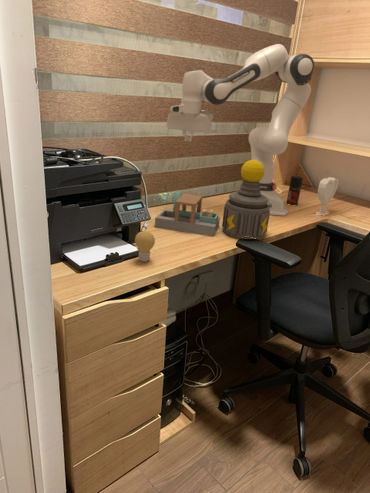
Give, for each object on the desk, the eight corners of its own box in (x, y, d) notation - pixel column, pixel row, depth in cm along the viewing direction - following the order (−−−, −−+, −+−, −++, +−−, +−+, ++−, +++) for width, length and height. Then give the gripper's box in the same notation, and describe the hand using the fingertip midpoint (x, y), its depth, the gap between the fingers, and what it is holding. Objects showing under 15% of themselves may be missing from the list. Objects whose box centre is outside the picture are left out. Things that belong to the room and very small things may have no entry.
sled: (217, 218, 158) (220, 195, 155) (215, 223, 152) (218, 199, 148) (175, 211, 162) (176, 189, 158) (171, 216, 156) (172, 193, 152)
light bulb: (140, 265, 121) (141, 236, 117) (130, 258, 125) (131, 230, 122) (157, 262, 124) (159, 233, 120) (147, 254, 129) (148, 227, 125)
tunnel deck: (218, 225, 163) (222, 198, 159) (213, 236, 150) (217, 207, 146) (164, 217, 168) (166, 190, 163) (154, 226, 155) (156, 198, 150)
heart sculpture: (320, 217, 187) (328, 181, 180) (310, 214, 190) (318, 179, 184) (332, 211, 198) (341, 177, 191) (323, 209, 201) (331, 175, 194)
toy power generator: (275, 235, 158) (288, 162, 146) (248, 244, 145) (260, 166, 134) (239, 222, 170) (249, 154, 158) (211, 230, 157) (220, 157, 146)
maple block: (212, 219, 158) (213, 210, 156) (210, 222, 154) (211, 212, 152) (203, 217, 158) (203, 208, 157) (201, 220, 155) (202, 211, 153)
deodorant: (299, 204, 206) (304, 177, 200) (294, 206, 201) (299, 178, 196) (289, 202, 209) (294, 175, 203) (284, 203, 205) (289, 176, 199)
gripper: (214, 111, 169) (211, 142, 174) (170, 106, 173) (168, 138, 178) (212, 111, 163) (209, 144, 168) (166, 107, 167) (164, 139, 172)
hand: (187, 141), depth 173 cm, fingers closed
